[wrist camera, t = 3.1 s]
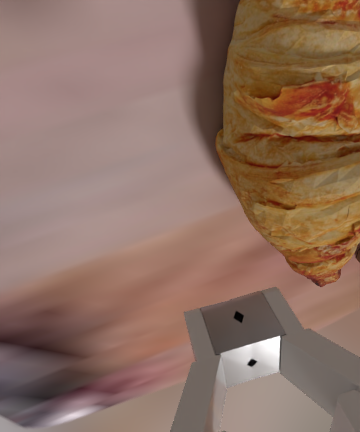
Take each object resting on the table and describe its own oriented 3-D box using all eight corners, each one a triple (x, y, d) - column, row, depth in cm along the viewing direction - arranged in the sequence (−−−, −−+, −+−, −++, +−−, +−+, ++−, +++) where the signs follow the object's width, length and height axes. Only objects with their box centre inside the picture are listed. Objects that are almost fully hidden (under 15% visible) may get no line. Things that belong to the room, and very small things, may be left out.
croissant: (182, -67, 15) (120, -60, 9) (444, -187, 11) (608, -300, 6) (259, 246, 28) (253, 332, 22) (398, 238, 24) (436, 340, 18)
